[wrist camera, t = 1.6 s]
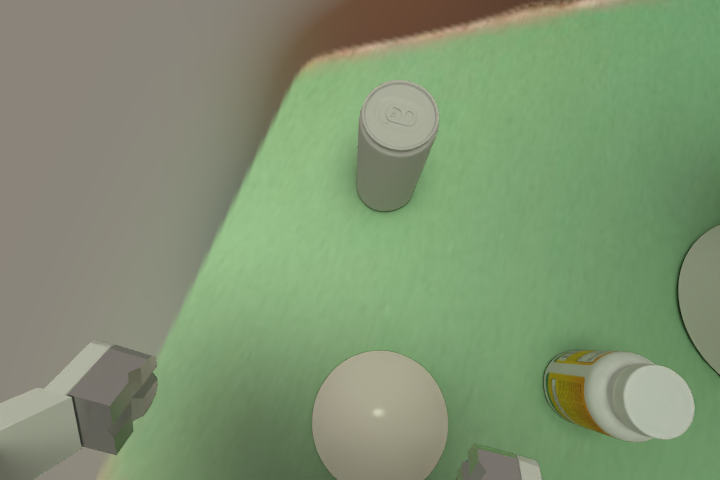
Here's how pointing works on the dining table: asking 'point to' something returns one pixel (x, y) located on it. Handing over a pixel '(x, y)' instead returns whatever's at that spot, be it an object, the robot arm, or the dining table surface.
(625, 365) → the supplement bottle
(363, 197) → the beverage can
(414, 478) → the white domed disc
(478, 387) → the dining table surface
